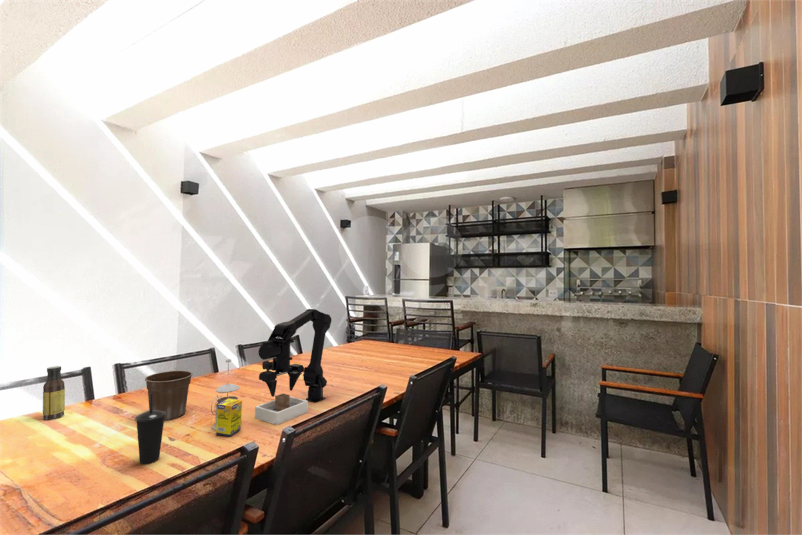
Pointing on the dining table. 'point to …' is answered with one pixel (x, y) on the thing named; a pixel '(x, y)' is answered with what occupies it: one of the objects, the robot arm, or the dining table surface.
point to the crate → (282, 415)
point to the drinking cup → (150, 433)
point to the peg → (282, 402)
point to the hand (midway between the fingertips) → (282, 393)
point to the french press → (224, 389)
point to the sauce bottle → (53, 394)
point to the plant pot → (169, 392)
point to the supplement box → (228, 417)
